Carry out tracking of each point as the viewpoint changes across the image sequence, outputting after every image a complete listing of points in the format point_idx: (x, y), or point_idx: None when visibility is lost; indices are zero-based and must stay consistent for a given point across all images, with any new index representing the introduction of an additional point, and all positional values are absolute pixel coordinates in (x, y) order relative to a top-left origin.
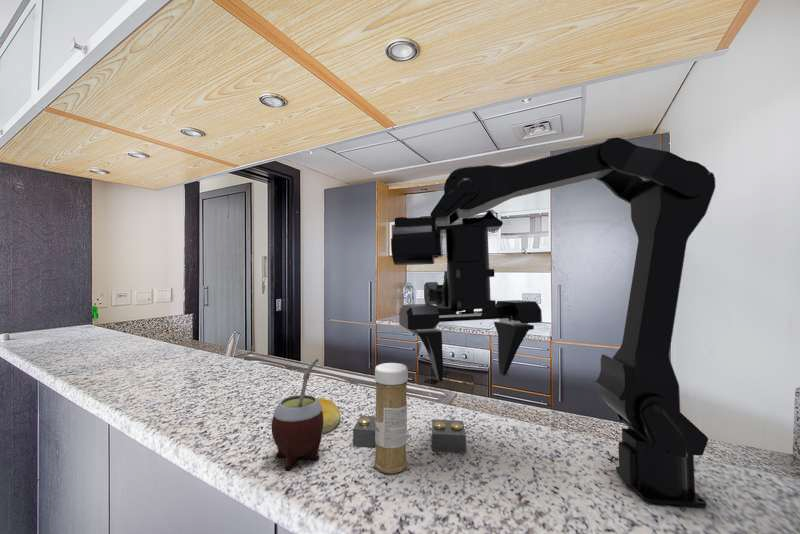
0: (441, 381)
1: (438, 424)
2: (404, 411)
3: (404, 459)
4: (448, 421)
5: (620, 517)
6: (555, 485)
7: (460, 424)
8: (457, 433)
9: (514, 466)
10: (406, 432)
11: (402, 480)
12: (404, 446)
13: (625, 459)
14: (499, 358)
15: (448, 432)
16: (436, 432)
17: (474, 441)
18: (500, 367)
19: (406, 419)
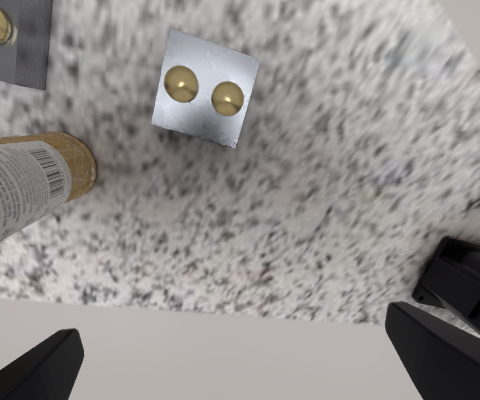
0: (80, 355)
1: (176, 87)
2: (6, 235)
3: (83, 187)
4: (216, 55)
5: (359, 311)
6: (331, 253)
7: (239, 99)
8: (218, 134)
9: (301, 201)
10: (57, 197)
11: (88, 214)
12: (69, 195)
13: (453, 292)
14: (453, 365)
15: (196, 125)
16: (165, 119)
17: (271, 97)
18: (408, 335)
19: (34, 210)
